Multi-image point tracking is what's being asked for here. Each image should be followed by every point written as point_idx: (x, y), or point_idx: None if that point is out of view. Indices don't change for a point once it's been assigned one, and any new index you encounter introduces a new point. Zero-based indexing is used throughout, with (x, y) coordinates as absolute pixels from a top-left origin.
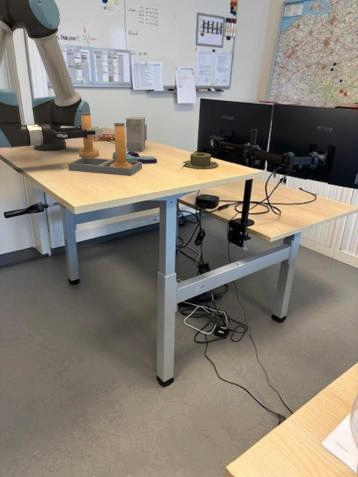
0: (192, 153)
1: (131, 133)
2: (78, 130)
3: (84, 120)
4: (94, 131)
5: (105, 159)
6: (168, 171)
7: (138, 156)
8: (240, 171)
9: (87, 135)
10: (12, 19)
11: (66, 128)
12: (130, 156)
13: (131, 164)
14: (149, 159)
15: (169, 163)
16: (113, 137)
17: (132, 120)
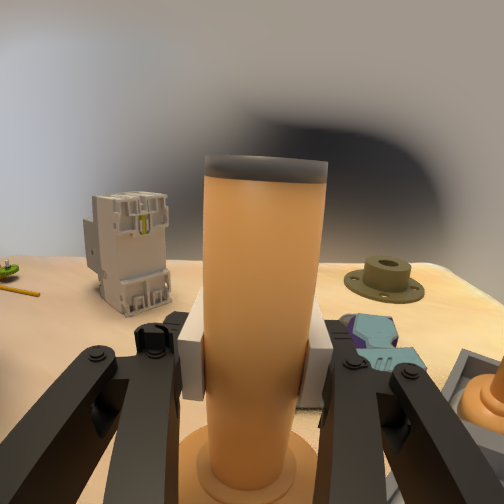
0: (373, 265)
1: (132, 251)
2: (379, 425)
3: (312, 254)
4: (343, 328)
5: None
6: (449, 334)
7: None
8: (436, 273)
9: (319, 397)
10: None
11: (37, 465)
12: (382, 354)
13: (490, 374)
14: (395, 328)
15: (359, 311)
16: (4, 272)
17: (139, 203)
